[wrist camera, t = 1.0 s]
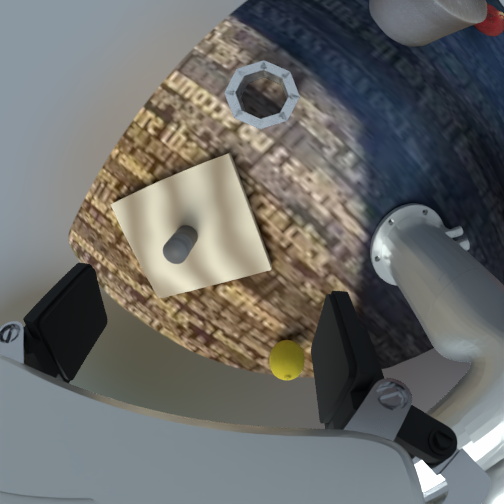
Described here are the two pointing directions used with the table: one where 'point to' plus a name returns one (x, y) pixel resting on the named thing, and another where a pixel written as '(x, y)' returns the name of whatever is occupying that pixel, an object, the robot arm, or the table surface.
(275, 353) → the lemon
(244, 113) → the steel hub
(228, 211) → the post board
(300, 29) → the table surface
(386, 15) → the pillar candle
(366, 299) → the table surface
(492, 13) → the onion
